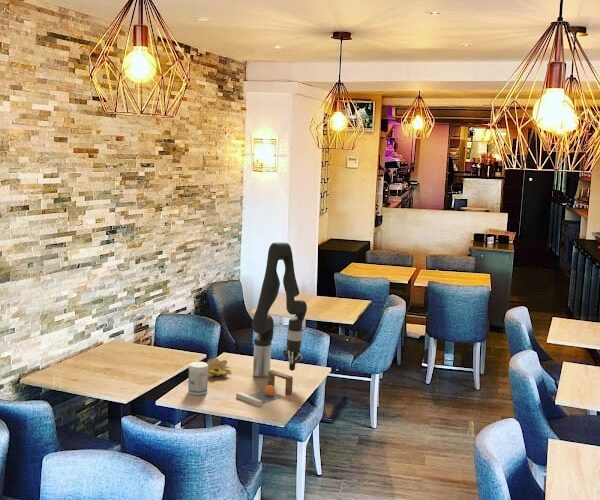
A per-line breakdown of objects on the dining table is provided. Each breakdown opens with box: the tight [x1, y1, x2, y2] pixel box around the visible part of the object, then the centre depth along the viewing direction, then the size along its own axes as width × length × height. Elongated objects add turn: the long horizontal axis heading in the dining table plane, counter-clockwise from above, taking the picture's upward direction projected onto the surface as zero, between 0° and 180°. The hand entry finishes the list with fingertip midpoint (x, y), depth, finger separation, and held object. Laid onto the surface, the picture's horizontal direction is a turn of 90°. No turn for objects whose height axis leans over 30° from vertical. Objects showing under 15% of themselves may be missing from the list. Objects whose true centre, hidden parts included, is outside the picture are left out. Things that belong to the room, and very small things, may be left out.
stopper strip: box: [235, 391, 263, 407], centre depth 339 cm, size 2×16×2 cm, turn 48°
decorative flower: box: [206, 357, 232, 378], centre depth 373 cm, size 15×11×10 cm
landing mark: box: [248, 390, 281, 405], centre depth 345 cm, size 13×13×1 cm
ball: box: [263, 384, 276, 396], centre depth 347 cm, size 6×6×6 cm
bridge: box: [267, 369, 294, 397], centre depth 354 cm, size 3×14×9 cm, turn 48°
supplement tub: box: [187, 361, 209, 396], centre depth 347 cm, size 10×10×15 cm
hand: (291, 370), depth 361 cm, fingers closed
